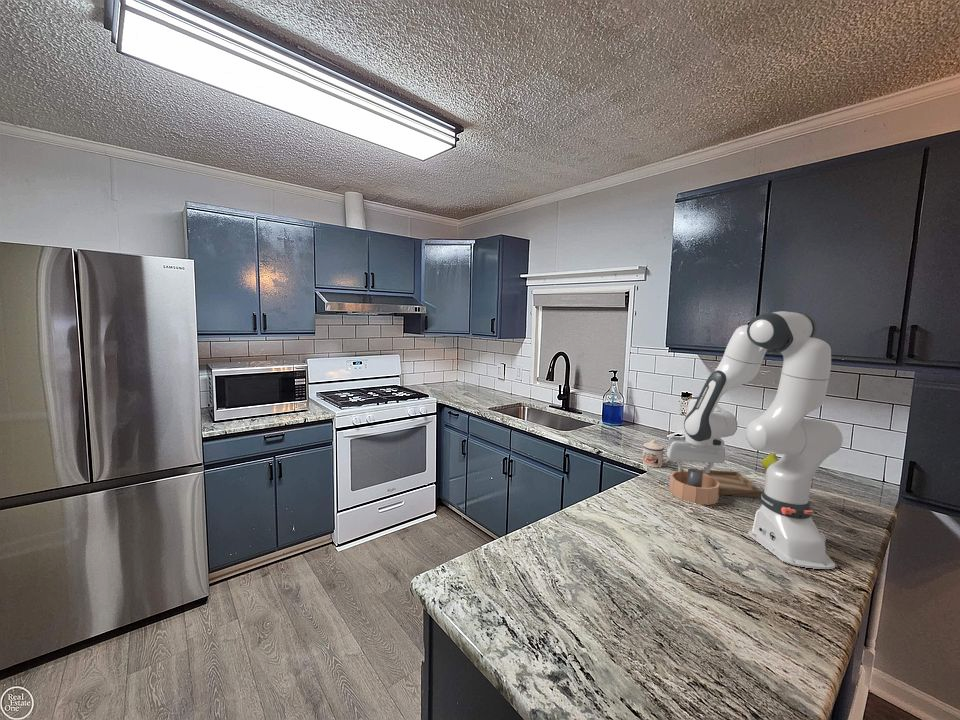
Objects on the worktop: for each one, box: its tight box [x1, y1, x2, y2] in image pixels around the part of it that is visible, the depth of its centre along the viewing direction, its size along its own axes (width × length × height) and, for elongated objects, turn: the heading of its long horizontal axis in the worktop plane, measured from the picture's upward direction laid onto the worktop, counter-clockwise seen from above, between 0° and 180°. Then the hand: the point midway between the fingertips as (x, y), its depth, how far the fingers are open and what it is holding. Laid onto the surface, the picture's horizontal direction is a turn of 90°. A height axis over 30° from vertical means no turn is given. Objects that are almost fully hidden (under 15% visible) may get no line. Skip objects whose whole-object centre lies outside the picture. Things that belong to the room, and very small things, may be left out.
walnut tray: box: [699, 468, 763, 499], centre depth 165 cm, size 20×15×2 cm
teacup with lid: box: [642, 439, 671, 468], centre depth 186 cm, size 12×9×12 cm
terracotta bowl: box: [668, 470, 720, 505], centre depth 156 cm, size 17×17×6 cm
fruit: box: [761, 453, 779, 471], centre depth 180 cm, size 7×7×12 cm
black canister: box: [687, 467, 703, 487], centre depth 155 cm, size 5×5×10 cm
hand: (693, 471), depth 156 cm, fingers open, 8 cm apart
